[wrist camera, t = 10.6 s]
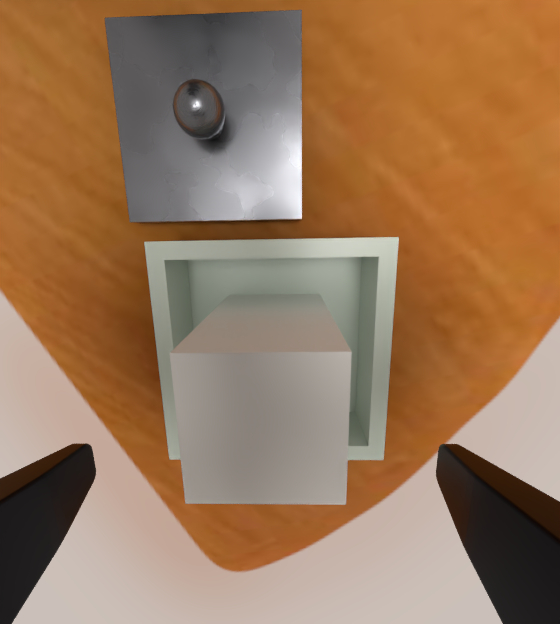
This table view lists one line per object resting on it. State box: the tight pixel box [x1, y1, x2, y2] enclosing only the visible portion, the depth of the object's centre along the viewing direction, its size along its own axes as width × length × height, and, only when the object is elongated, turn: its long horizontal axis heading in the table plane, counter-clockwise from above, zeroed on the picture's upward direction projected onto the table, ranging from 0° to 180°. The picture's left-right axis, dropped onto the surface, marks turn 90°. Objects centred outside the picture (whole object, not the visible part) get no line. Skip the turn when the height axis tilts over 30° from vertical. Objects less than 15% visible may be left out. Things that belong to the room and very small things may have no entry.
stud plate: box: [105, 10, 302, 223], centre depth 14 cm, size 9×9×4 cm
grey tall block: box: [170, 294, 352, 505], centre depth 14 cm, size 5×5×9 cm
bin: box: [144, 237, 399, 460], centre depth 17 cm, size 11×11×4 cm
